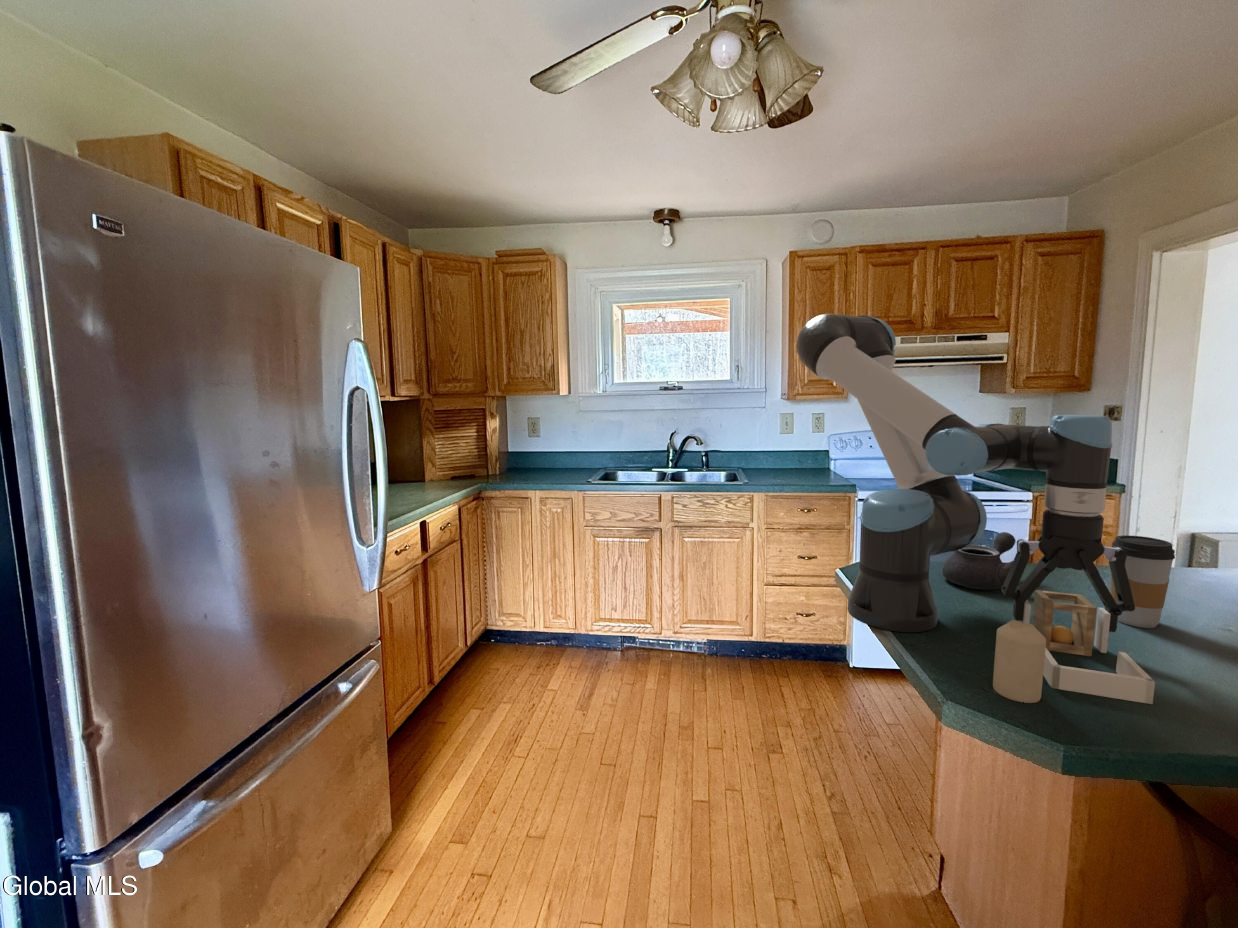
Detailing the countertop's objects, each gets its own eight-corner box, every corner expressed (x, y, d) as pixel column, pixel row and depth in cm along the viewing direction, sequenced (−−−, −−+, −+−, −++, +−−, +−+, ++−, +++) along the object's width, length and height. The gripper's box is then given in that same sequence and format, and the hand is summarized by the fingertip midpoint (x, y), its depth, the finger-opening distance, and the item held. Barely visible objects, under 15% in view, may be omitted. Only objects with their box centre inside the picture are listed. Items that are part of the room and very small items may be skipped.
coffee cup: (1179, 632, 94) (1190, 548, 92) (1123, 629, 96) (1132, 546, 94) (1144, 613, 102) (1153, 535, 100) (1093, 610, 104) (1100, 533, 102)
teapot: (1015, 602, 109) (1019, 553, 107) (932, 582, 120) (935, 538, 119) (1043, 581, 120) (1047, 536, 119) (964, 564, 132) (967, 524, 131)
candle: (983, 683, 79) (988, 617, 78) (1018, 681, 79) (1024, 615, 78) (1013, 704, 74) (1019, 634, 72) (1051, 702, 74) (1058, 632, 73)
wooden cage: (1042, 649, 89) (1046, 602, 88) (1031, 634, 94) (1035, 589, 93) (1091, 656, 86) (1096, 608, 85) (1077, 640, 92) (1082, 594, 91)
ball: (1051, 647, 90) (1053, 628, 89) (1045, 639, 92) (1046, 621, 92) (1075, 650, 88) (1077, 631, 88) (1068, 642, 91) (1070, 624, 91)
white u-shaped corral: (1051, 687, 78) (1053, 666, 77) (1033, 659, 86) (1034, 639, 85) (1152, 704, 73) (1155, 681, 73) (1122, 672, 81) (1125, 652, 81)
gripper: (995, 511, 88) (985, 642, 91) (1177, 522, 80) (1160, 666, 82) (985, 502, 95) (976, 624, 98) (1152, 511, 86) (1137, 645, 89)
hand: (1060, 643), depth 90 cm, fingers open, 10 cm apart
